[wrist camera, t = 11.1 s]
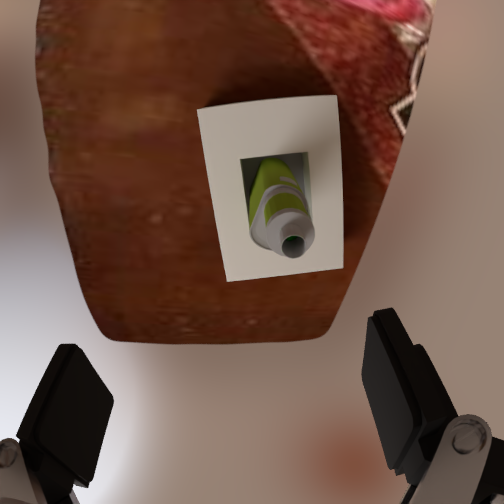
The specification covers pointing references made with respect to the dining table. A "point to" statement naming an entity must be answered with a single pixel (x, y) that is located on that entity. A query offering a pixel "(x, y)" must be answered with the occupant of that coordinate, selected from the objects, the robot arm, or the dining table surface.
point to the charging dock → (300, 163)
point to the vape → (279, 211)
